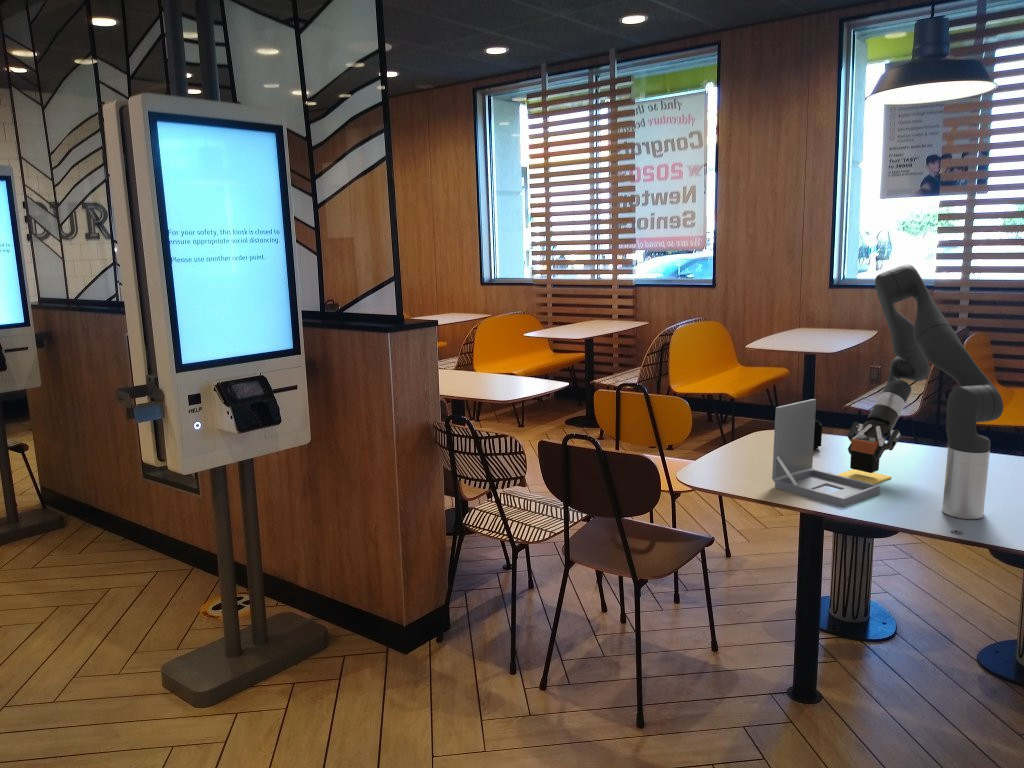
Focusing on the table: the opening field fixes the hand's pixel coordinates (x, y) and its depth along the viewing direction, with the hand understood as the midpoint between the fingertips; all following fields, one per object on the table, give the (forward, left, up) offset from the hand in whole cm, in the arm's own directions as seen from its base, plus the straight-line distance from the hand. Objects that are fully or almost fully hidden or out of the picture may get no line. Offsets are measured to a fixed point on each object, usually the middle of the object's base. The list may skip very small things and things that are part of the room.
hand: (862, 456), depth 232 cm
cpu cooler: (-17, -30, -7) cm, 35 cm away
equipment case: (+18, 0, -7) cm, 19 cm away
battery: (-2, 0, -5) cm, 5 cm away
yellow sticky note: (-1, 0, -7) cm, 7 cm away
